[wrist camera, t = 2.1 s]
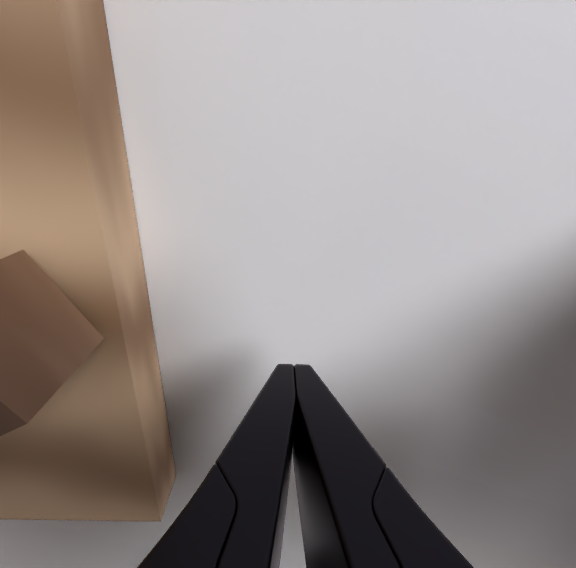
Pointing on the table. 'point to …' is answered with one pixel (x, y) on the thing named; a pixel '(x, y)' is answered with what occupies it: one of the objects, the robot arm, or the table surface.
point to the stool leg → (36, 340)
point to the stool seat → (79, 272)
